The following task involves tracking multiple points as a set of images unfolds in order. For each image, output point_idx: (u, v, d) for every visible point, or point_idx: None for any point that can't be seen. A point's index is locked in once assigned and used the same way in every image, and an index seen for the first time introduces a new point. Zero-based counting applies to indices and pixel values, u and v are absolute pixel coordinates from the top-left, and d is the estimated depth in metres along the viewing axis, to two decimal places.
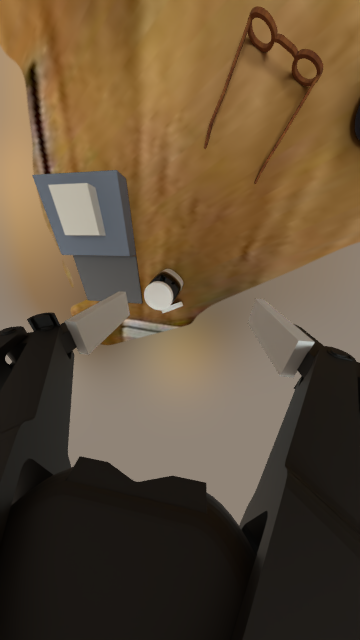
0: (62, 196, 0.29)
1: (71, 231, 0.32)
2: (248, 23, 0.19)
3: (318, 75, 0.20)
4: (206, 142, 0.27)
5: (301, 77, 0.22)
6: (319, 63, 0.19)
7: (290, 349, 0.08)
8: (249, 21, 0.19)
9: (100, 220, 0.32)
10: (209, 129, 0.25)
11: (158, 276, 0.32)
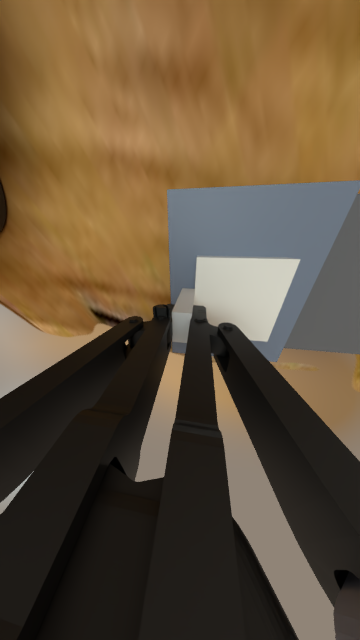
0: (209, 319, 0.16)
1: (266, 326, 0.15)
2: None
3: None
4: None
5: None
6: None
7: None
8: None
9: (256, 257, 0.14)
10: None
11: None
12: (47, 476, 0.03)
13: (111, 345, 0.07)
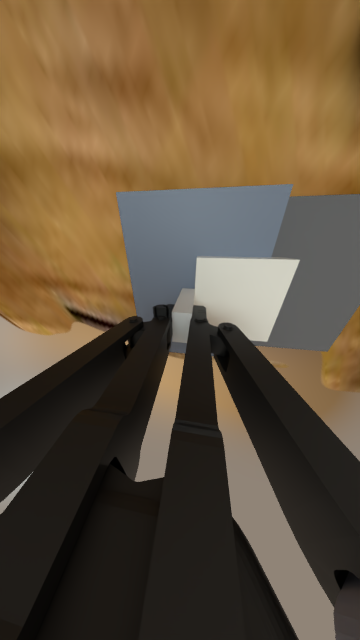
0: (209, 319, 0.16)
1: (266, 326, 0.15)
2: None
3: None
4: None
5: None
6: None
7: None
8: None
9: (256, 257, 0.14)
10: None
11: None
12: (47, 476, 0.03)
13: (111, 345, 0.07)
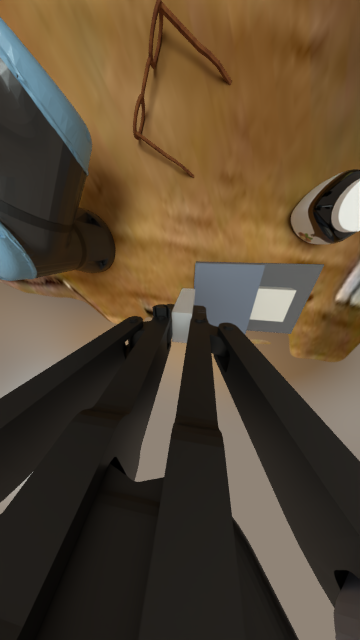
0: (258, 312, 0.38)
1: (282, 315, 0.37)
2: (138, 133, 0.25)
3: (161, 5, 0.19)
4: (191, 174, 0.28)
5: (156, 50, 0.22)
6: (157, 4, 0.18)
7: None
8: (137, 132, 0.25)
9: (280, 288, 0.35)
10: (185, 168, 0.27)
11: (319, 211, 0.22)
12: (47, 476, 0.03)
13: (111, 345, 0.07)
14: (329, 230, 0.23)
